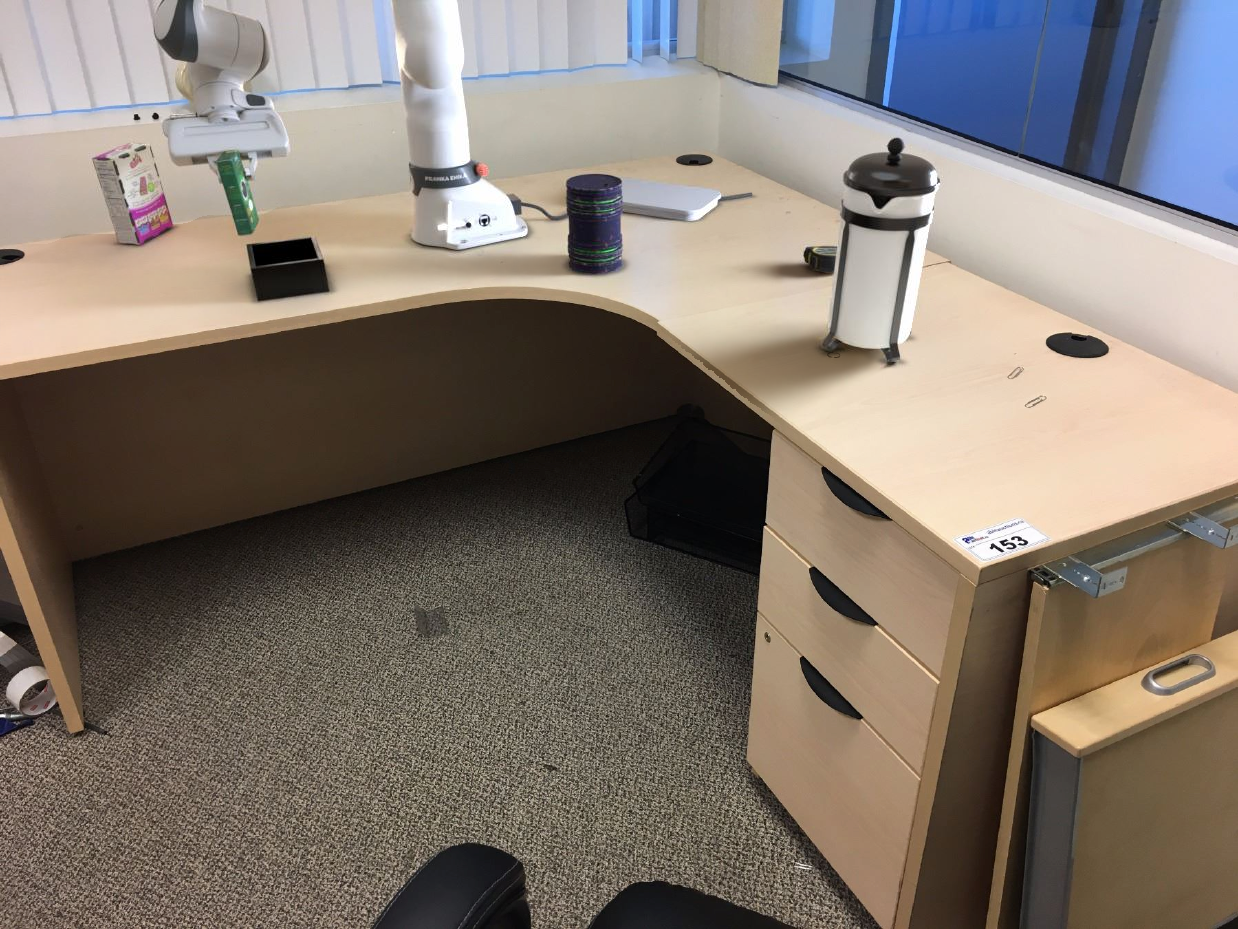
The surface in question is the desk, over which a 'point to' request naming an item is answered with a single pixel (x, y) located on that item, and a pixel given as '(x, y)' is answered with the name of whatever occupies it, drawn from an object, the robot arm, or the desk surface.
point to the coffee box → (237, 192)
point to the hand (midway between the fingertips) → (237, 180)
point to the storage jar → (594, 223)
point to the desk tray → (287, 268)
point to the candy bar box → (133, 193)
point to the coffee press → (880, 249)
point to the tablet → (667, 199)
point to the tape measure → (821, 258)
